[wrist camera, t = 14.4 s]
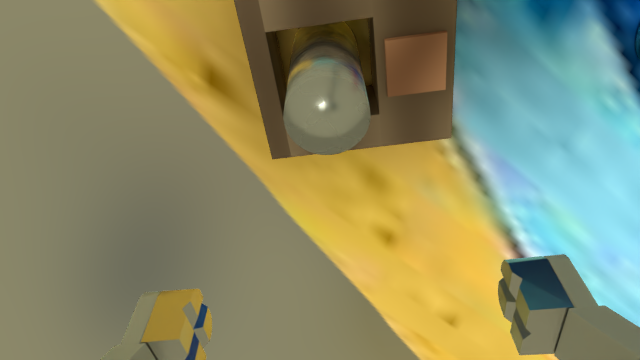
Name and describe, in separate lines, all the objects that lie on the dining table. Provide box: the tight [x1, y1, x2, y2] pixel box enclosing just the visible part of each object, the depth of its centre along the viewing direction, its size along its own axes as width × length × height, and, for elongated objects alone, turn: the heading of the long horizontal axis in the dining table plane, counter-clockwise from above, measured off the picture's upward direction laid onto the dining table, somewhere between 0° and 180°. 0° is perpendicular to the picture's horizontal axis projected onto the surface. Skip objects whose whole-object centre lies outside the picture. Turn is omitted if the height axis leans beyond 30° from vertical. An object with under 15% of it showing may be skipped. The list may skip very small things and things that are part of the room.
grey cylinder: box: [283, 21, 371, 155], centre depth 24 cm, size 4×4×9 cm
